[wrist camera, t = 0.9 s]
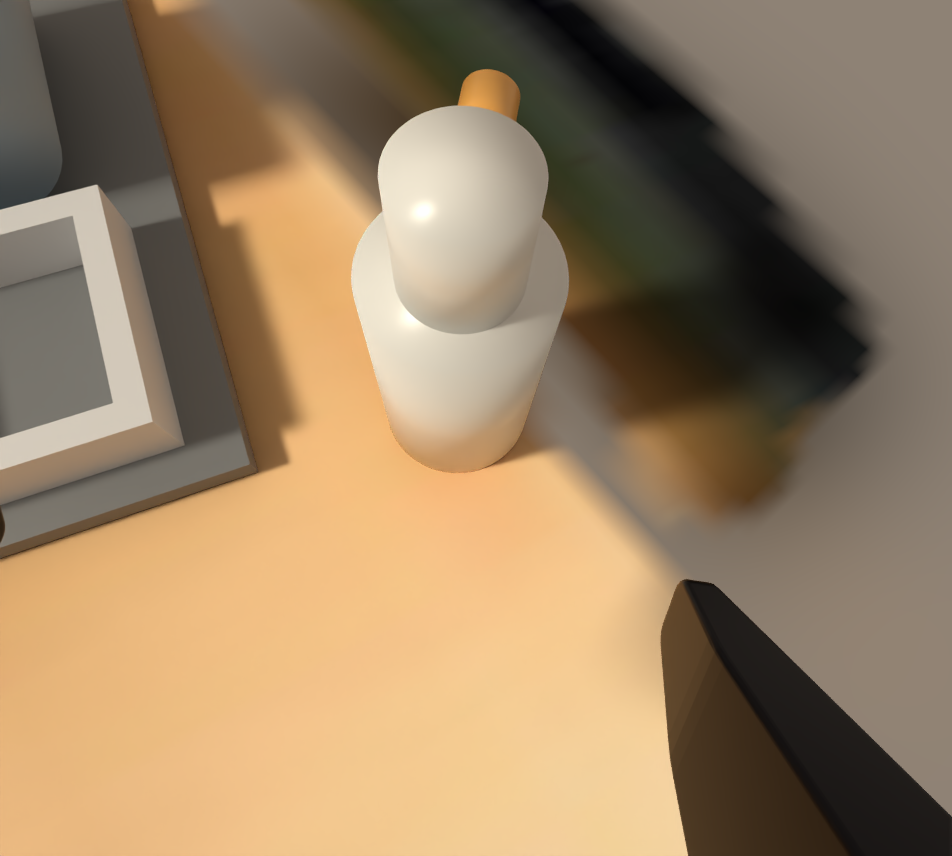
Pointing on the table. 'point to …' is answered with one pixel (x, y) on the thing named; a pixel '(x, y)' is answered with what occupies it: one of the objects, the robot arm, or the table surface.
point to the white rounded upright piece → (461, 278)
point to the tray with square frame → (98, 288)
